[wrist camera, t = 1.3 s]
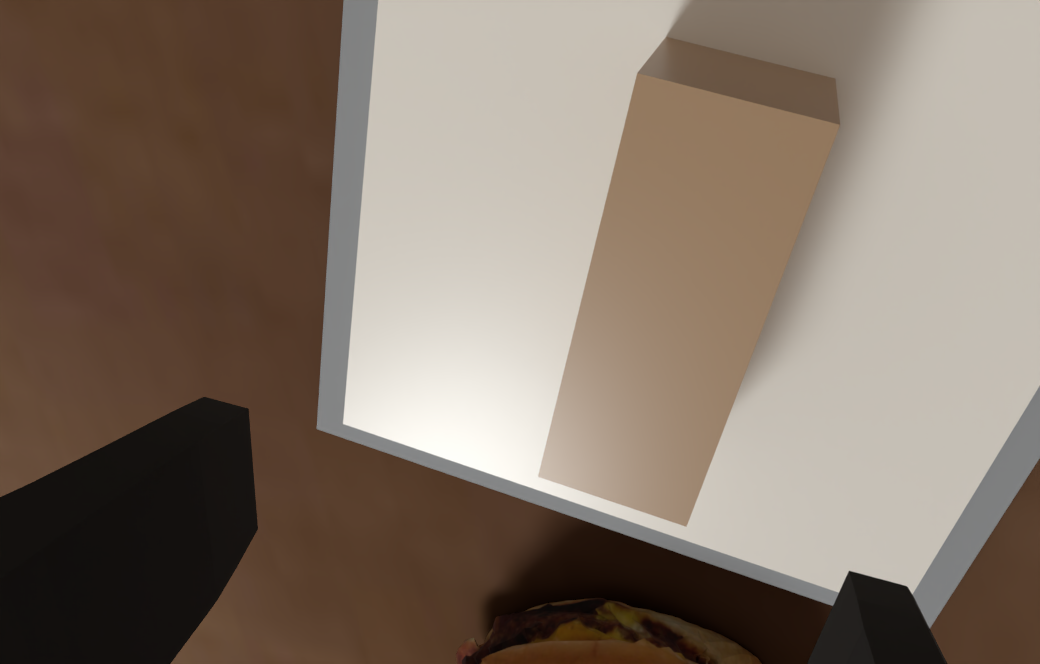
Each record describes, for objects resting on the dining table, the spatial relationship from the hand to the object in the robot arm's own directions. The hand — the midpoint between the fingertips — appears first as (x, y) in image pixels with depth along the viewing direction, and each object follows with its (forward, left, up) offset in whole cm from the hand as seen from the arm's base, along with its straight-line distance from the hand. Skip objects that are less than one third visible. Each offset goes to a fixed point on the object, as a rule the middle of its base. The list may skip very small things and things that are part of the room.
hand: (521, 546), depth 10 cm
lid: (-1, 0, -9) cm, 9 cm away
